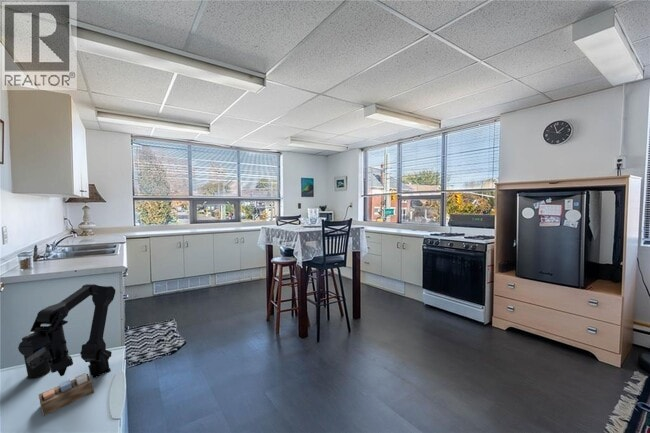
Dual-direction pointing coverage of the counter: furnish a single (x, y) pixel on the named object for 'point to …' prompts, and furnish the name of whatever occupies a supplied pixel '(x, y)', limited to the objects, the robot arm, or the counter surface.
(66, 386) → the key blue
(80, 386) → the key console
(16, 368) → the counter surface
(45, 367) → the aerosol can
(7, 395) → the counter surface
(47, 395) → the key terracotta
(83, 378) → the key cream
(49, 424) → the counter surface
